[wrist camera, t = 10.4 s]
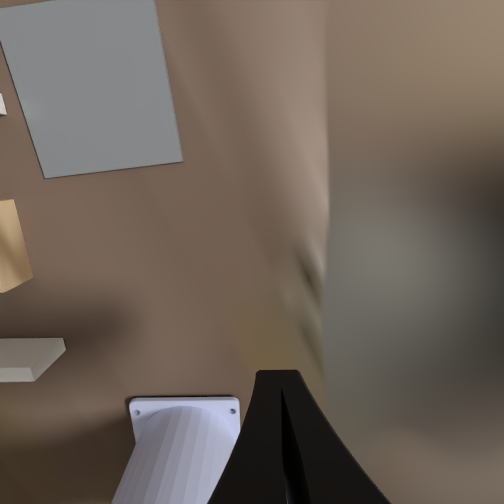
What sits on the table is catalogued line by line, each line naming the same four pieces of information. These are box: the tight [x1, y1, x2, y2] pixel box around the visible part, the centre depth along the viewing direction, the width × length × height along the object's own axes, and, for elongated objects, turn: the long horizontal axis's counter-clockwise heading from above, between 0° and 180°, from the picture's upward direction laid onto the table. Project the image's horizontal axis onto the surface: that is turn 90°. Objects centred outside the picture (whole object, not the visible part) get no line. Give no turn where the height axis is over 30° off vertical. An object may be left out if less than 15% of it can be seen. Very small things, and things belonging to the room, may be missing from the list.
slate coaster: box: [0, 0, 183, 178], centre depth 15 cm, size 8×8×1 cm
